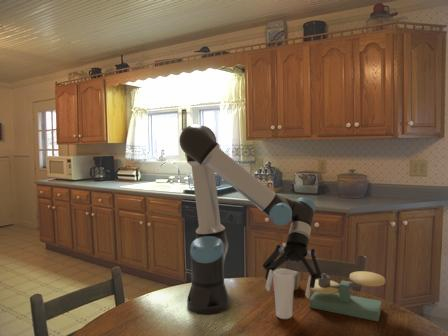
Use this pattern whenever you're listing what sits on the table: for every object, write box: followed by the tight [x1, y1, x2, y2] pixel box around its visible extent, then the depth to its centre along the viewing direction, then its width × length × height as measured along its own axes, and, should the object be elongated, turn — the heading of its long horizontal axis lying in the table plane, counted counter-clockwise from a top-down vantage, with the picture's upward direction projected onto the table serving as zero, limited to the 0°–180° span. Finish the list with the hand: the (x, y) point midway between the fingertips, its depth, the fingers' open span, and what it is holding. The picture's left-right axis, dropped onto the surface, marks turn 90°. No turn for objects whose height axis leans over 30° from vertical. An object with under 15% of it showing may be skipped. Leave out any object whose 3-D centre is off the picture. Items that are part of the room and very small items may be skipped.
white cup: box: [272, 268, 295, 320], centre depth 117 cm, size 7×7×15 cm
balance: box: [309, 270, 386, 322], centre depth 121 cm, size 25×11×12 cm, turn 62°
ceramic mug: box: [278, 267, 301, 291], centre depth 140 cm, size 11×8×8 cm
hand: (286, 293), depth 117 cm, fingers open, 13 cm apart
